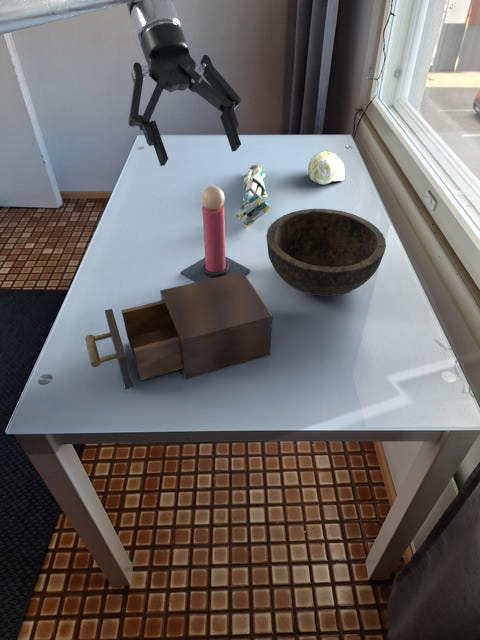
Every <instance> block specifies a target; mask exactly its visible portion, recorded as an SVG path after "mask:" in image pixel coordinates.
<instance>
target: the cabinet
mask: <svg viewBox="0 0 480 640" xmlns="http://www.w3.org/2000/svg"><path fill="white" fill-rule="evenodd" d="M159 294H160V301H162V300H163V301H164V303H165V306H166V308H167V310H168V313H169V315H170V317H171V320H172V322H173V324H174V327H175V329H176V331H177V334H178V336H179V338H180V341H181V350H182V358H183V367H184V368H182V369H181V371H182V374H183V376H184V378H185V380H188V379H191V378H196V377H198V376H202V375H205V374H210V373H212V372H216V371H219V370H223V369H226V368H231V367H233V366H236V365H240V364H244V363H247V362H250V361H255V360H257V359H261V358H264V357H268V356H271V352H272V351H271V350H272V337H273V336H272V334H273V319H274V318H273V315H272V313H271V312H270V310H269V308H268V307H267V306H266V304H265V302H264V301H263V300H262V298H261V296H260V295H259V293H258V291H256V289H255V288H254V286H253V285H252V283H251V281H250V279H248V277H247V275H245V274H244V273H243V271H242V272H238V273H233V274H229V275H225V276H221V277H216V278H212V279H208V280H203V281H199V282H191V283H190V282H189V283H186V284H182V285H178V286H174V287H169V288H163V289H160V290H159Z"/></svg>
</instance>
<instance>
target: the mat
mask: <svg viewBox="0 0 480 640" xmlns="http://www.w3.org/2000/svg"><path fill="white" fill-rule="evenodd" d="M225 262H226V263H227V264H228V266H229V271H228V273H227V274H226V275H229V274H233V273H238V272H242V271H243V273H244V274H245V276H247V275H248V274H250V273H251V271H252V270H251V269H250V268H248V267H247V266H244V265H242V264H241V263H239V262H237V261H235V260H233V259H231V258H229V257H227V256H225ZM204 263H205V257H203V258H201V259H200V260H198V261H196V262H194V263H193V264H191V265H190V266H187V267H186V268H184V269H182V270H181V271H180V275H182V276H184V277H185V278H187V279H189V280H190V281H192V282H193V283H195V282H199V281H203V280H208V279H212V278H210V277H208V276H206V275H205V274H204V273H203V264H204Z"/></svg>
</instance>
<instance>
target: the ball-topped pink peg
mask: <svg viewBox="0 0 480 640" xmlns="http://www.w3.org/2000/svg"><path fill="white" fill-rule="evenodd" d="M200 201H201V204H202V207H201V210H202V211H201V212H202V229H203V245H204V258H205V263H204V264H203V273H204V274H205V275H206V276H208V277H210V278H216V277H221V276H225V275H226V274H227V273H228V271H229V266H228V264H227V263H226V262H225V257H226V230H225V229H226V227H225V225H226V224H225V223H226V222H225V206H224V203H225V193H224V191H223V190H222V189H221V188H220V187H219V186H216V185H210V186H207V187H205V188H204V189H203V190H202V192H201V194H200Z"/></svg>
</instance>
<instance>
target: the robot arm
mask: <svg viewBox="0 0 480 640" xmlns="http://www.w3.org/2000/svg"><path fill="white" fill-rule="evenodd" d="M123 5H126V7H127V10H128V12H129V16H130V18H131V22H132V24H133V26H134V30H135V33H136V36H137V39H138V40H139V43H140V48H141V50H142V53H143V56H144V59H145V62H146V64H147V65H141V63H140V62H134V63H133V66H132V70H131V78H132V83H133V87H132V93H131V101H130V107H129V113H128V114H129V115H128V121H127V123H128V125H129V126H130V128H131V127H132V128H133V127H135V126H136V127H138V128H139V130H140V131H142V132H143V135H144V136H143V137H145V141H146V144H147V145H148V147H153V148H154V151H155V154H156V156H157V160H158V163H159V165H160V167H164V166H166V164H167V162H168V160H169V156H168V154H167V150H166V148H165V145H164V141H163V139H162V136H161V133H160V129H159V127H158V124H157V122H156V120H151V119H152V116H153V114H154V112H155V110H156V107H157V105H158V103H159V100H160V98H161V96H162V94H163V91H167V92H168V93H173V92H175V91H186V90H187V89H188V90H189V91H190V92H192V93H196V94H197V95H198V96H200V97H201V98H203V99H204V100H205V101H206V102H208V103H209V104H210V105H211V106H213V107H214V108H215V109H217V110H218V111H219V112H221V115H220V117H219V118H220V120H221V123H222V126H223V129H224V132H225V135H226V138H227V141H228V144H229V147H230V150H231V152H236V151H237V150H238V149H239V148H240V147H241V145H242V142H241V139H240V136H239V133H238V128H239V121H238V118H237V115H236V112H235V111H236V110H237V108H238V107H239V106H240V104H241V103H242V98H241V97H240V95H238V93H237V92H236V91H235V89H233V87H232V86H231V85H230V84H229V83H228V81H227V80H226V79H225V78H224V77H223V75H221V73H220V72H219V71H218V70H217V69H216V67H214V64H213V63H212V61H211V58H210V56H209V55H208V54H204V55H203V56H202V57H201V58H199V59H194V58H193V57H192V56H191V54H190V49H189V45H188V42H187V39H186V36H185V33H184V31H183V28H182V27H181V26H182V25H181V22H180V20H179V19H180V18H179V16H178V13H177V10H176V7H175V4H174V2H173V0H0V36H1V35H5V34H10V33H13V32H18V31H21V30H26V29H31V28H33V27H37V26H42V25H45V24H50V23H54V22H57V21H63V20H66V19H70V18H74V17H78V16H82V15H87V14H89V13H90V14H91V13H94V12H99V11H102V10H106V9H110V8H115V7H118V6H119V7H120V6H123ZM196 70H197V71H196ZM198 72H199V73H198ZM147 76H148V77H149V78H150V79H152V80H153V81H154V82H155V83H156V84H155V87H154V90H153V91H152V94H151V96H150V98H149V101H148V103H147V105H146V108H145V110H144V112H143V115H142V114H139V113H140V105H141V99H142V92H143V91H142V90H143V85H144V81H146V78H147ZM204 79H205V80H204ZM193 81H194V82H193Z"/></svg>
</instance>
